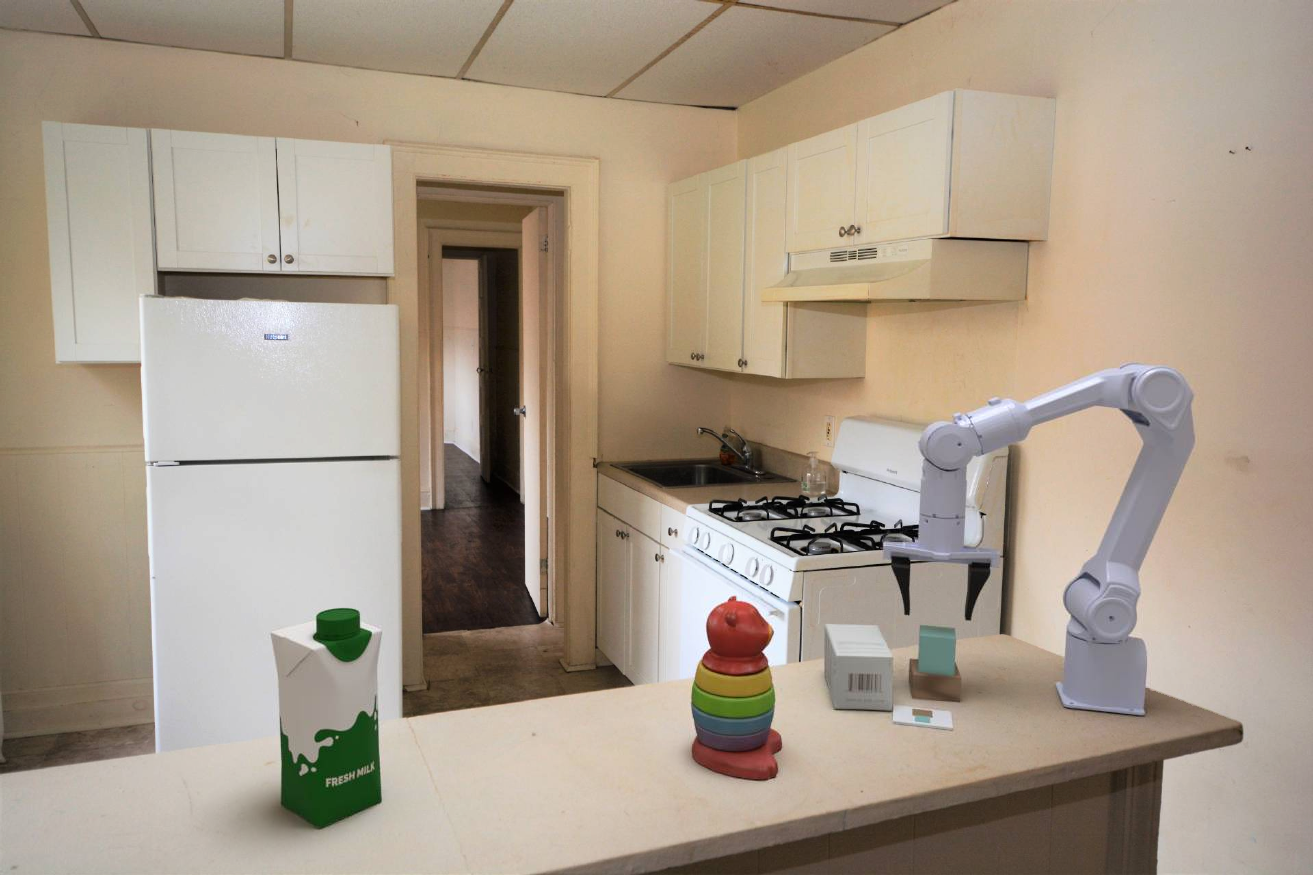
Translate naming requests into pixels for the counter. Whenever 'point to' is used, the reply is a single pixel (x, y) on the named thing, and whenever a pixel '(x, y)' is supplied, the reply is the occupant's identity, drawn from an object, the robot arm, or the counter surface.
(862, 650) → the supplement box
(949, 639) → the teal block
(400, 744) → the counter surface
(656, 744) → the counter surface
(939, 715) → the page
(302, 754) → the milk carton
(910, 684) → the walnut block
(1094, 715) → the counter surface
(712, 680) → the stacking bear
